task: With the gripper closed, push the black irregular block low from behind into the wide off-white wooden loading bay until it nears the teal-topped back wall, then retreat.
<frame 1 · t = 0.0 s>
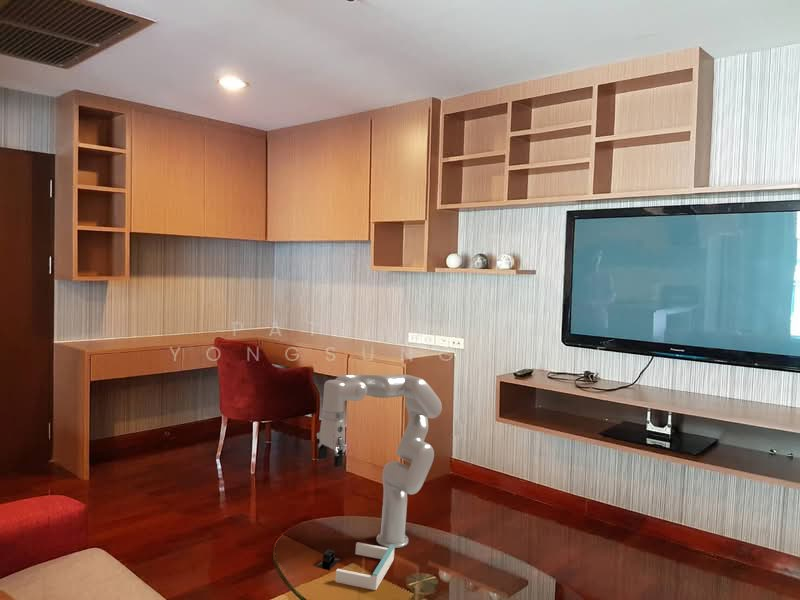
hand: (329, 462, 222), 37 cm above the table, tool pointing down, fingers open, 9 cm apart
loading bay: (367, 570, 221), on the table
black irregular block: (328, 565, 224), on the table
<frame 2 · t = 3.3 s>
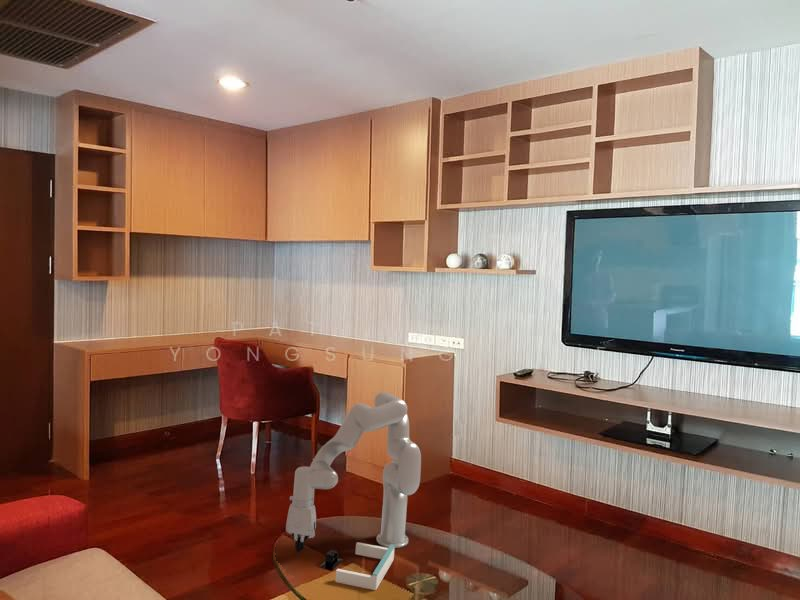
hand: (299, 550, 227), 3 cm above the table, tool pointing down, fingers closed
black irregular block: (331, 565, 224), on the table
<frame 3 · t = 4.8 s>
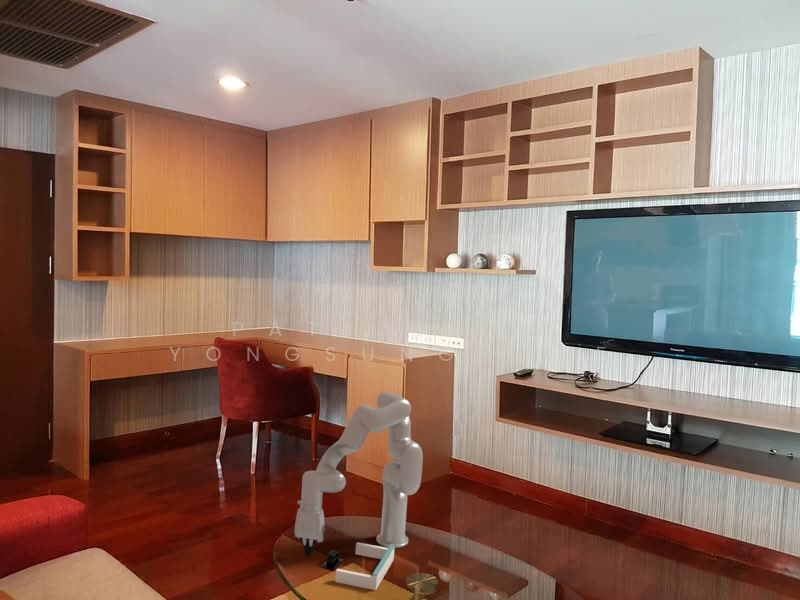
hand: (308, 554, 226), 2 cm above the table, tool pointing down, fingers closed
nothing on the table moved.
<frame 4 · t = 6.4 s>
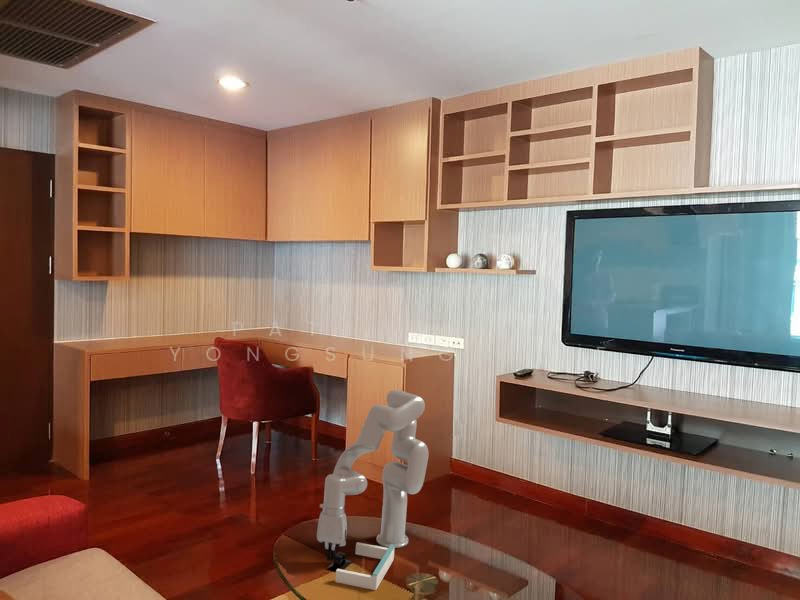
hand: (330, 558, 224), 2 cm above the table, tool pointing down, fingers closed
black irregular block: (339, 567, 223), on the table, touching gripper
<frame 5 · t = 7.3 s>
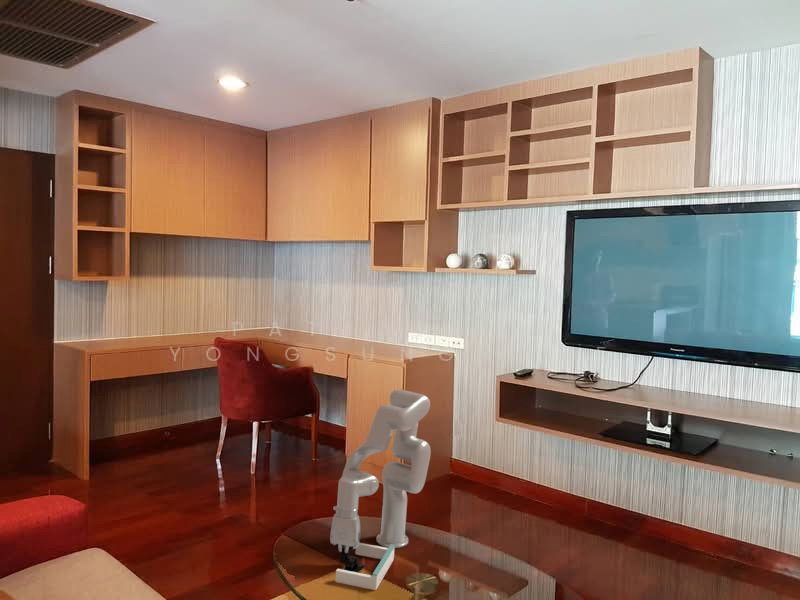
hand: (343, 561, 223), 2 cm above the table, tool pointing down, fingers closed
black irregular block: (351, 571, 221), on the table, touching gripper
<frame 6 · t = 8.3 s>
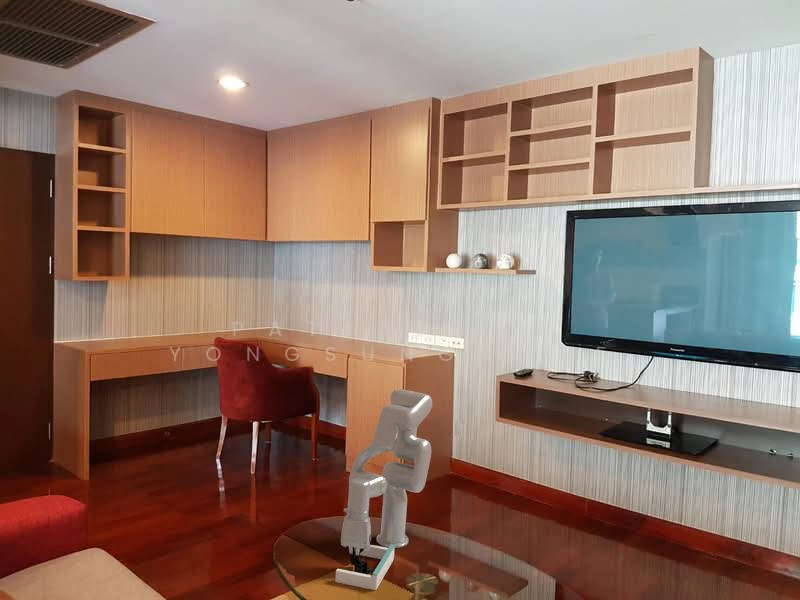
hand: (354, 563, 222), 2 cm above the table, tool pointing down, fingers closed
black irregular block: (360, 574, 219), on the table, touching gripper
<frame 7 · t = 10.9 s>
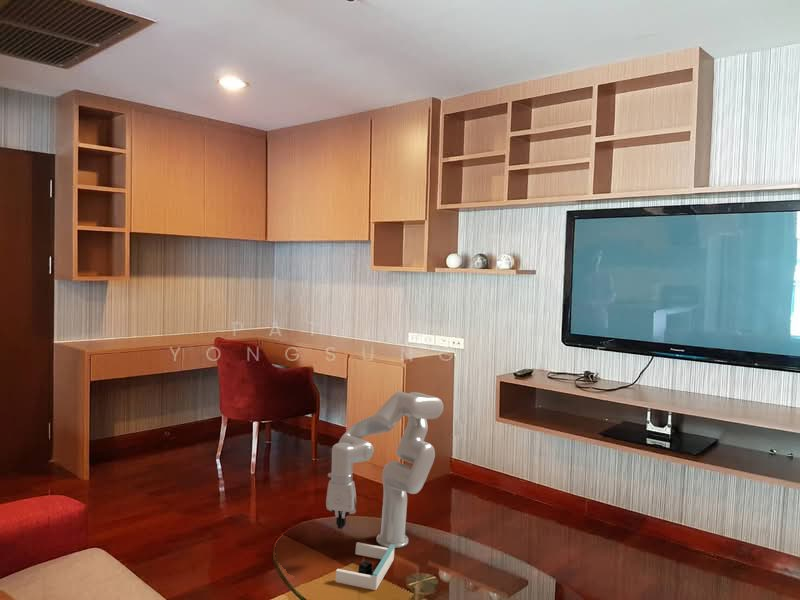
hand: (341, 526, 224), 14 cm above the table, tool pointing down, fingers closed
black irregular block: (364, 576, 218), on the table
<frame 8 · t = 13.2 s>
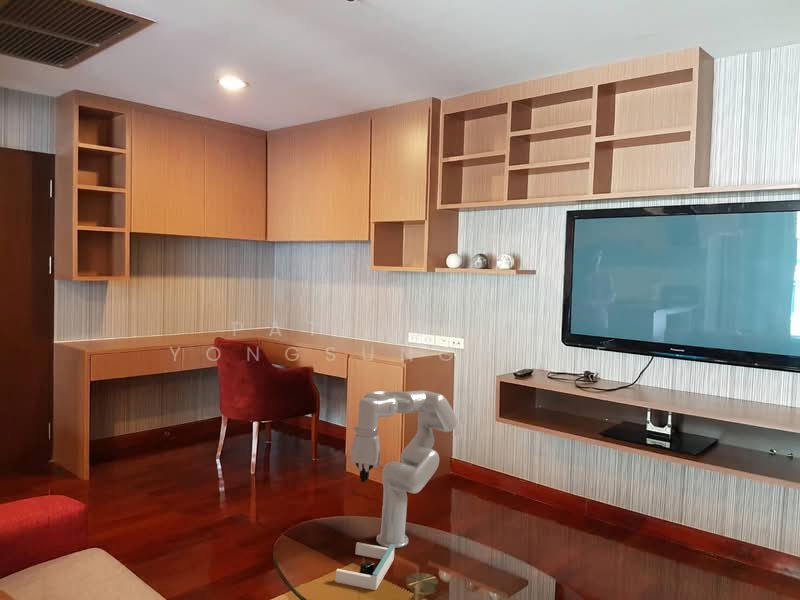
hand: (363, 480, 228), 29 cm above the table, tool pointing down, fingers closed
at the end: black irregular block inside the target area (2.8 cm from its centre), on the table; black irregular block tilted 0°; black irregular block moved 15.9 cm from its start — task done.
